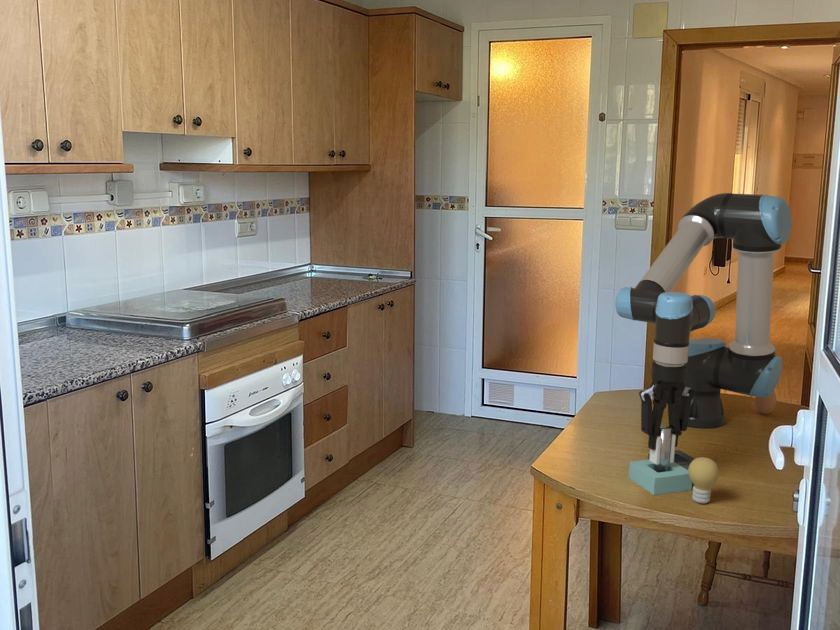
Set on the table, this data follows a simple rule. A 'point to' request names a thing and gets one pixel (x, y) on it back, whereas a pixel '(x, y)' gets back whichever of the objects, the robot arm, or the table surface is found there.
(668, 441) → the pin
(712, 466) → the light bulb
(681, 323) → the robot arm
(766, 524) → the table surface
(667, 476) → the socket
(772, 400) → the egg
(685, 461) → the mount
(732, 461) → the table surface
